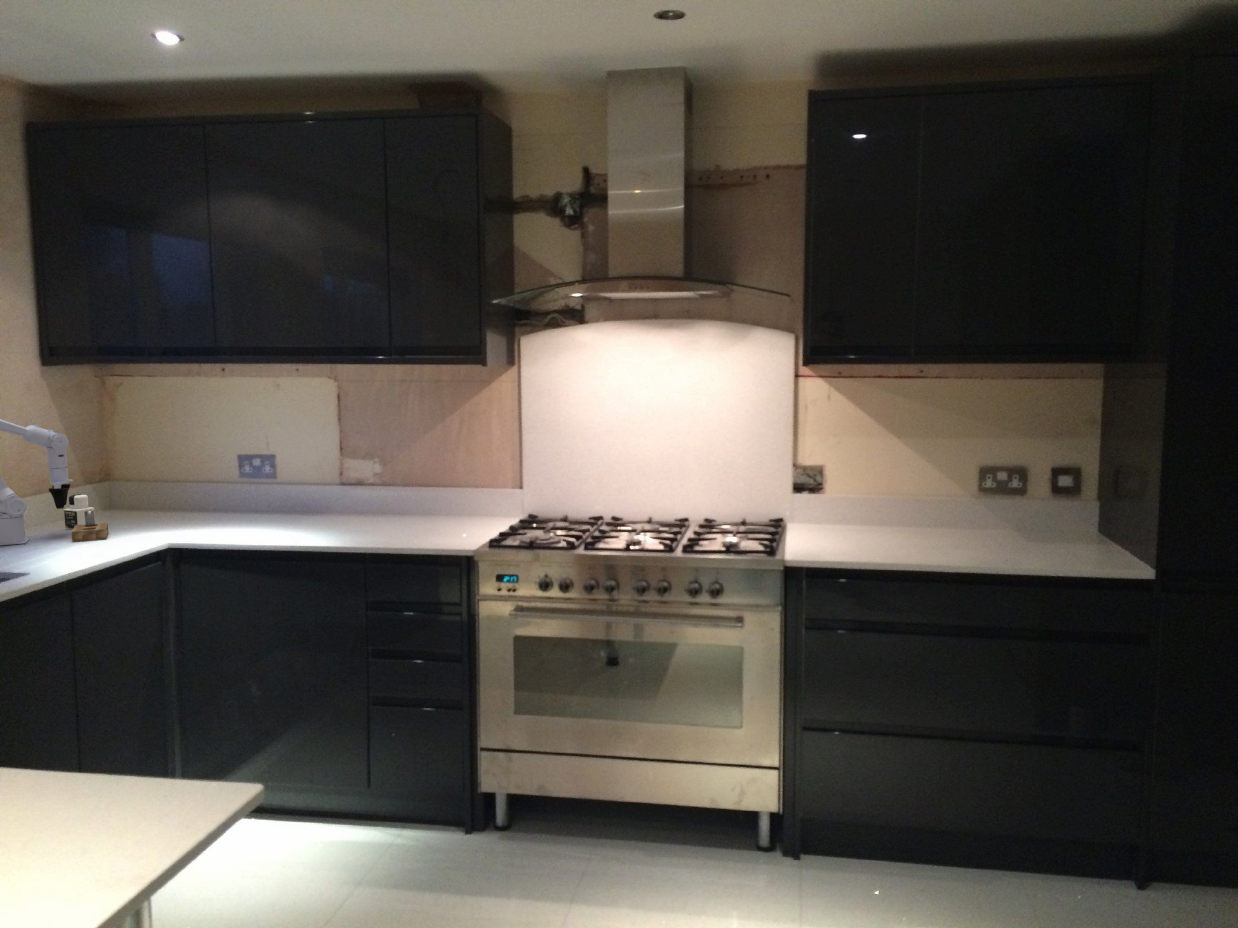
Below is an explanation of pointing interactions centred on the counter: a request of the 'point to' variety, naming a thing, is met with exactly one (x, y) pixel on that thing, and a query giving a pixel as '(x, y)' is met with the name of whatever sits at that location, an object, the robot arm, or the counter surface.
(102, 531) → the hole block
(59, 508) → the robot arm
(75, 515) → the medicine bottle
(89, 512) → the steel pin
